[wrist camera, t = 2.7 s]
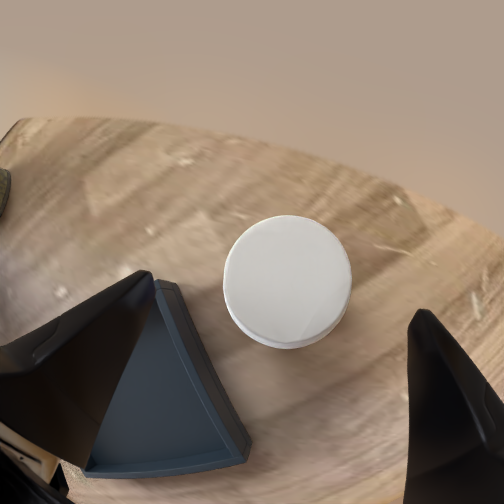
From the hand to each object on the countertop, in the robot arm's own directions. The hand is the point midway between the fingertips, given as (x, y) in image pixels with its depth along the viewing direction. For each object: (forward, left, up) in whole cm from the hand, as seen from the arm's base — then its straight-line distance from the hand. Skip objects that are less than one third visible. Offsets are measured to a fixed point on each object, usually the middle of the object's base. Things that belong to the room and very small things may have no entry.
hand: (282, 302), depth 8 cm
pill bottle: (+1, 0, -9) cm, 9 cm away
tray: (-2, +14, -8) cm, 16 cm away
